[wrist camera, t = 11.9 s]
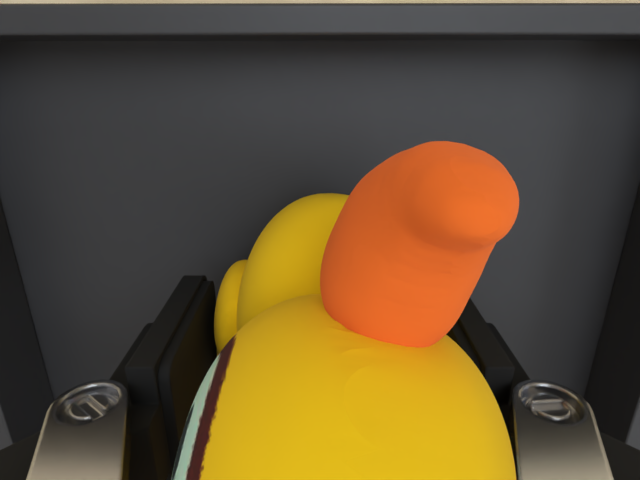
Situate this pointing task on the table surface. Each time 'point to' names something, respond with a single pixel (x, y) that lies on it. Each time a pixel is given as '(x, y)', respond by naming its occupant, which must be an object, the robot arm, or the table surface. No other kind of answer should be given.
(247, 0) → the table surface
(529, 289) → the pan
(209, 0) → the table surface
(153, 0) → the table surface
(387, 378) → the duckling
